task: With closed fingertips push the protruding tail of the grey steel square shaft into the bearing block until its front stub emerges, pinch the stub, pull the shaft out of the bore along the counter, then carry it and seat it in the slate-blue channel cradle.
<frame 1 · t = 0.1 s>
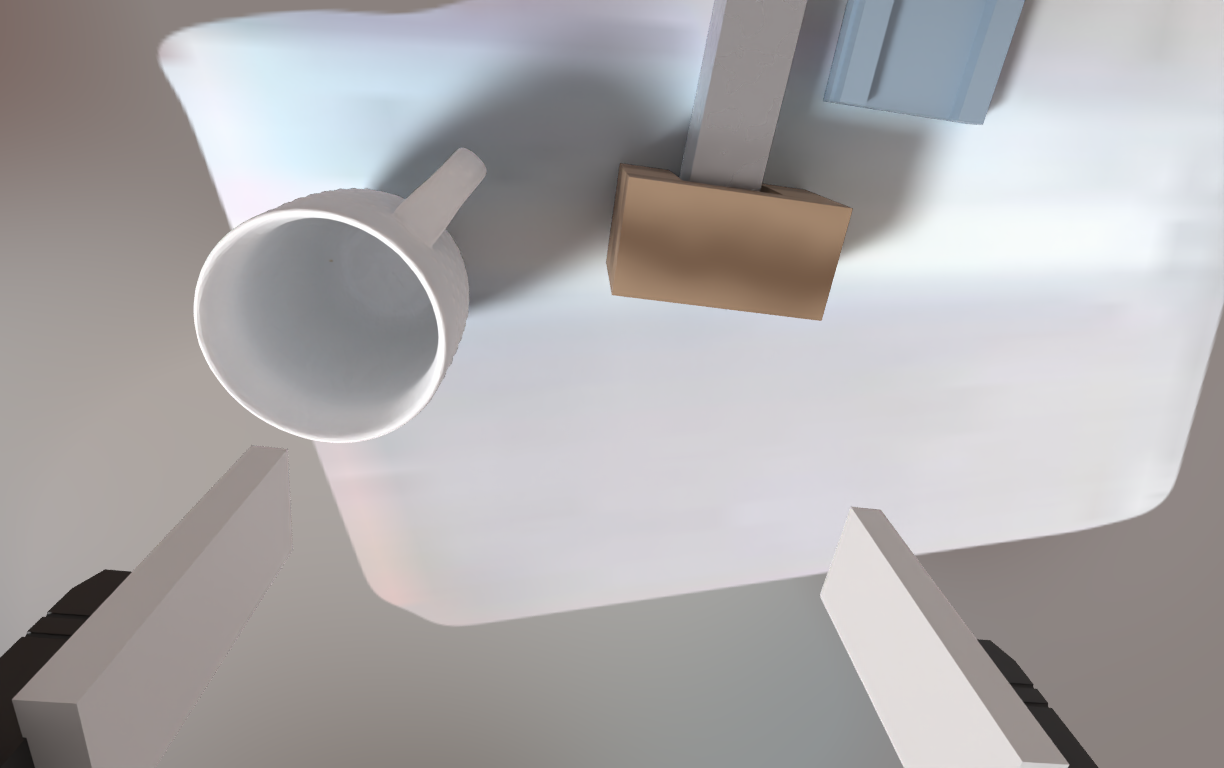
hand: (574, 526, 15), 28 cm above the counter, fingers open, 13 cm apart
bearing block: (704, 226, 40), on the counter
shaft: (721, 132, 39), on the counter
mug: (408, 252, 40), on the counter
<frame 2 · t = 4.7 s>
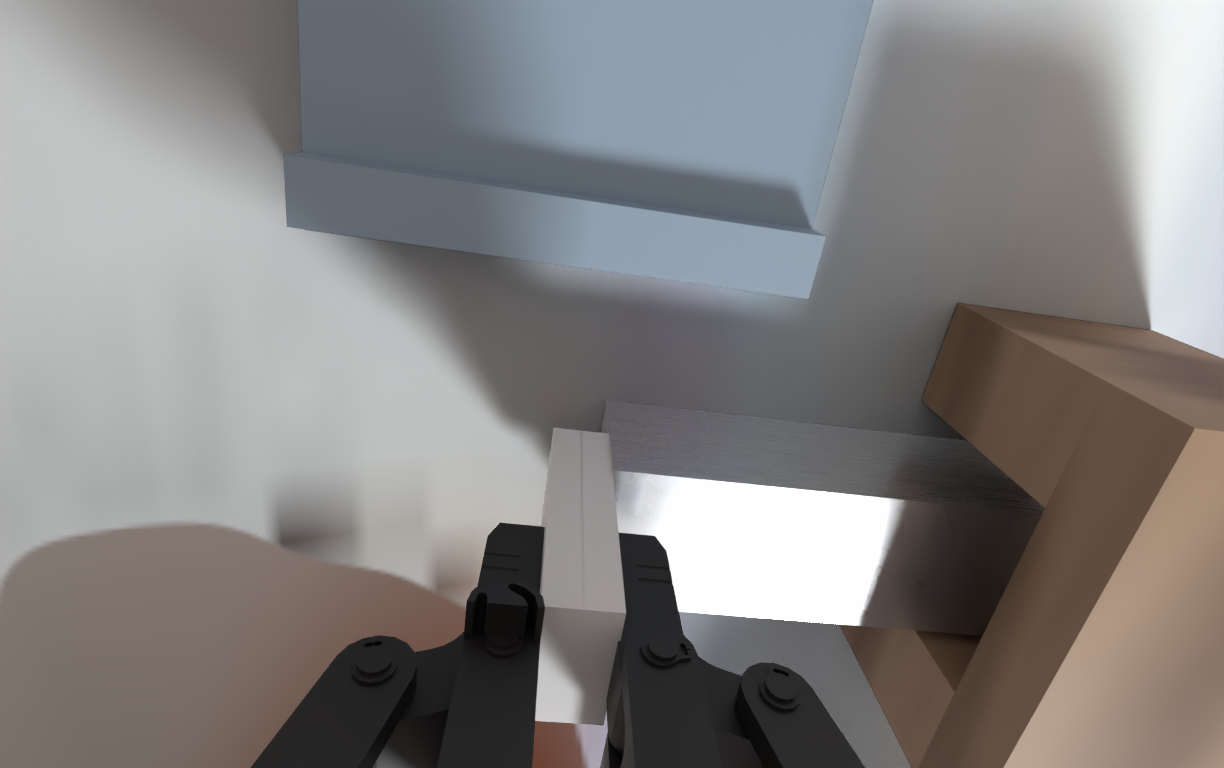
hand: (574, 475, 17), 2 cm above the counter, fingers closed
cradle: (582, 65, 15), on the counter
bearing block: (980, 490, 20), on the counter
shaft: (834, 482, 20), on the counter
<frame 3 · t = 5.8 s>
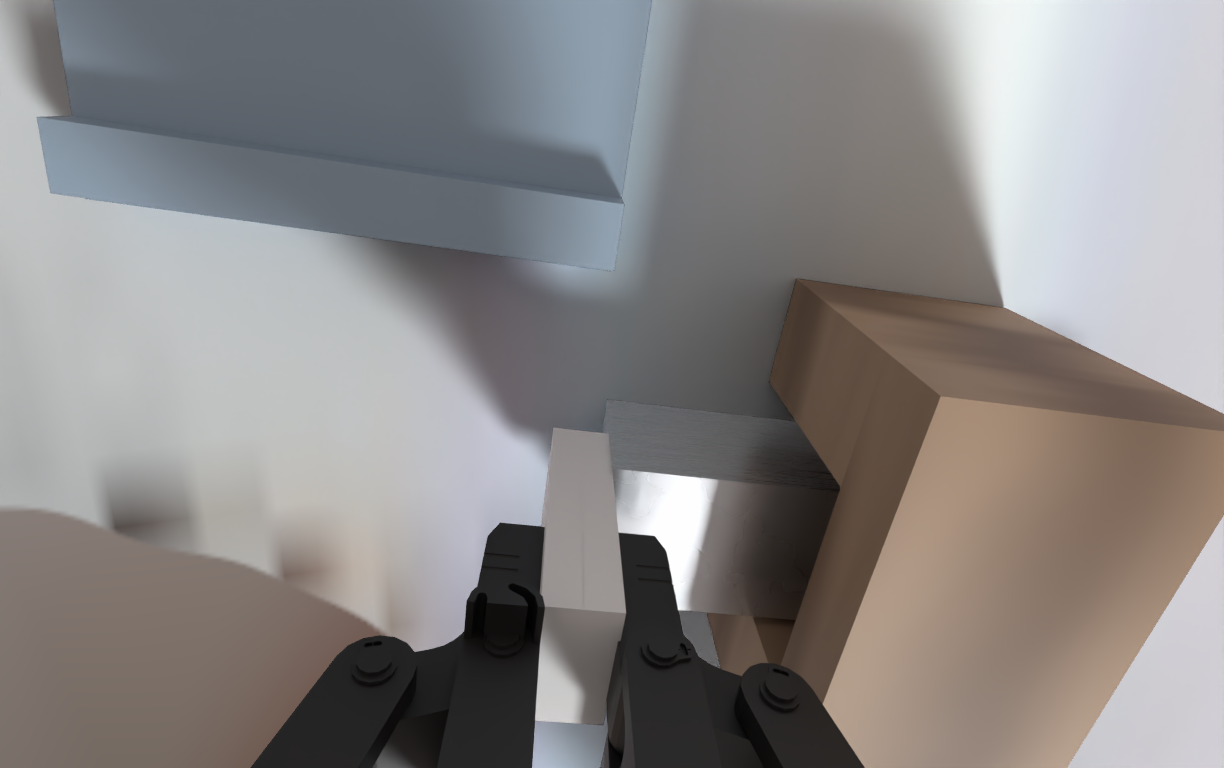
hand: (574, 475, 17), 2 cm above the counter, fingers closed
cradle: (372, 26, 14), on the counter
bearing block: (841, 475, 20), on the counter
shaft: (835, 481, 20), on the counter, touching gripper
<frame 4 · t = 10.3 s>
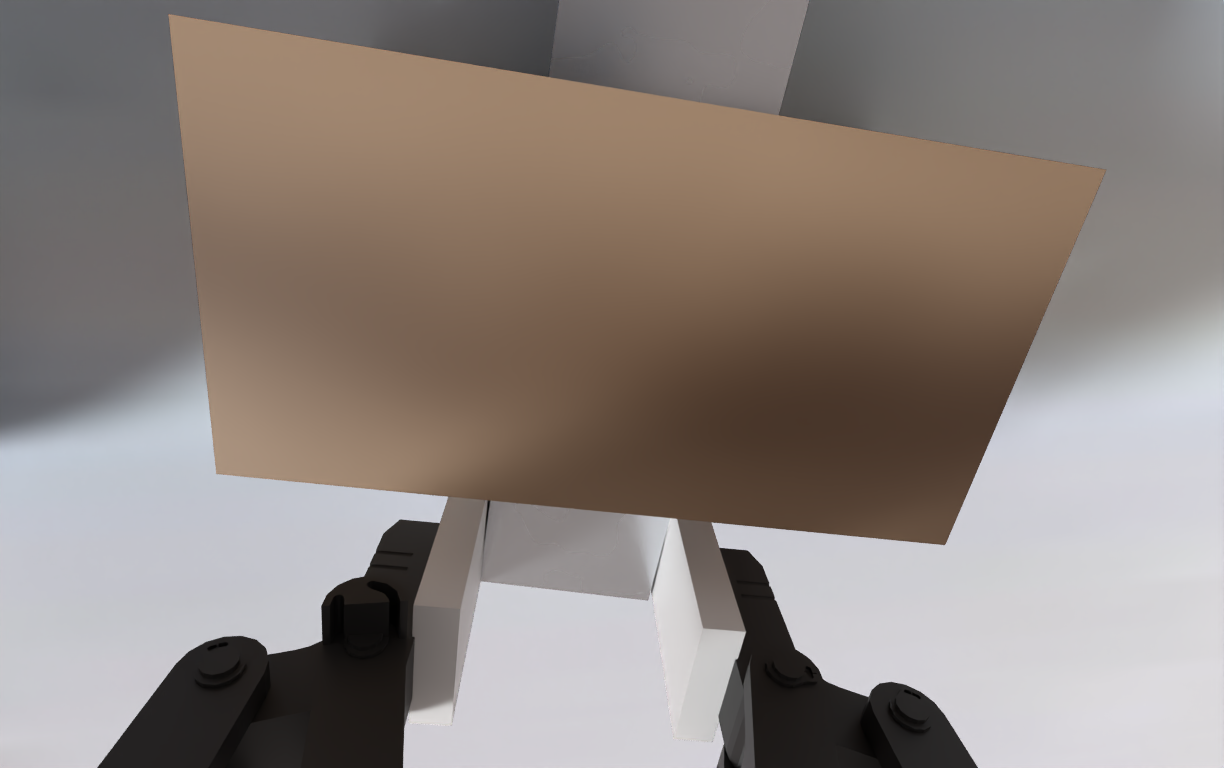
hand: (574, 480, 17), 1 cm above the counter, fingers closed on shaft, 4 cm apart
bearing block: (609, 230, 16), on the counter
shaft: (616, 240, 16), on the counter, touching gripper
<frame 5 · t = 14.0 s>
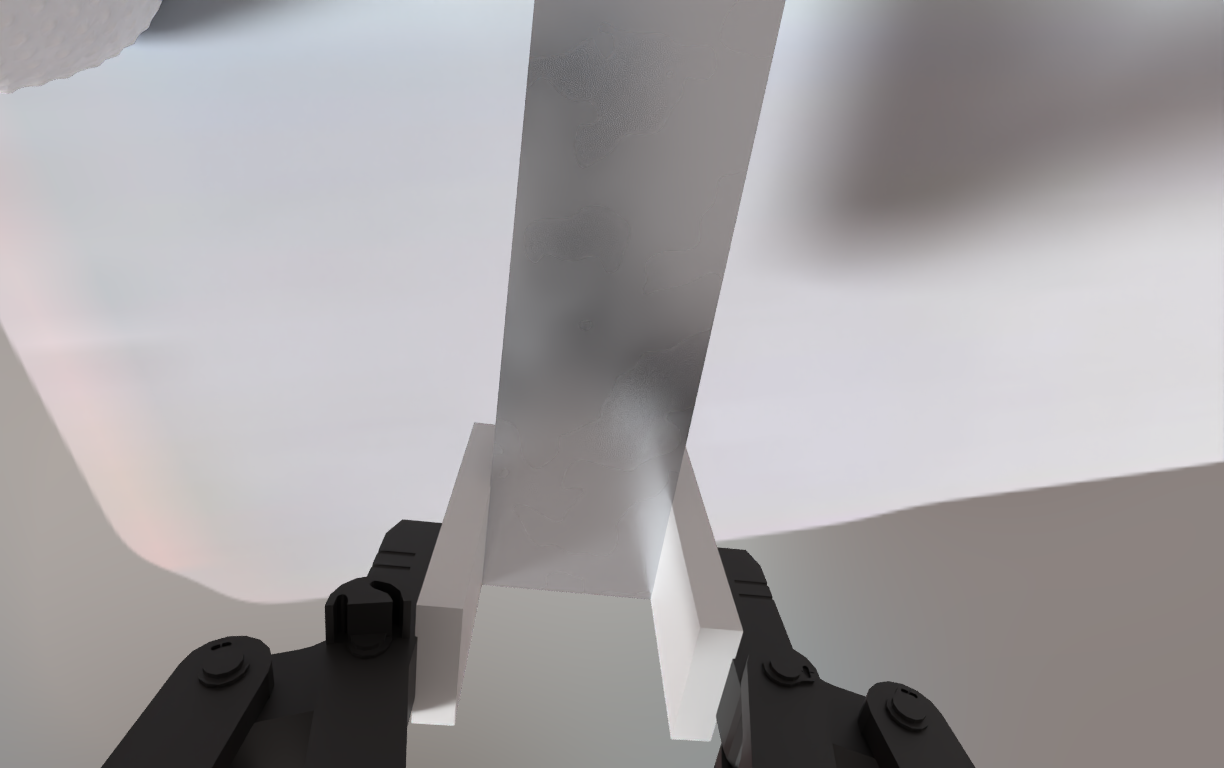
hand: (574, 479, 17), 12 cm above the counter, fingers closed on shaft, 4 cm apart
shaft: (607, 239, 16), point 11 cm above the counter, touching gripper
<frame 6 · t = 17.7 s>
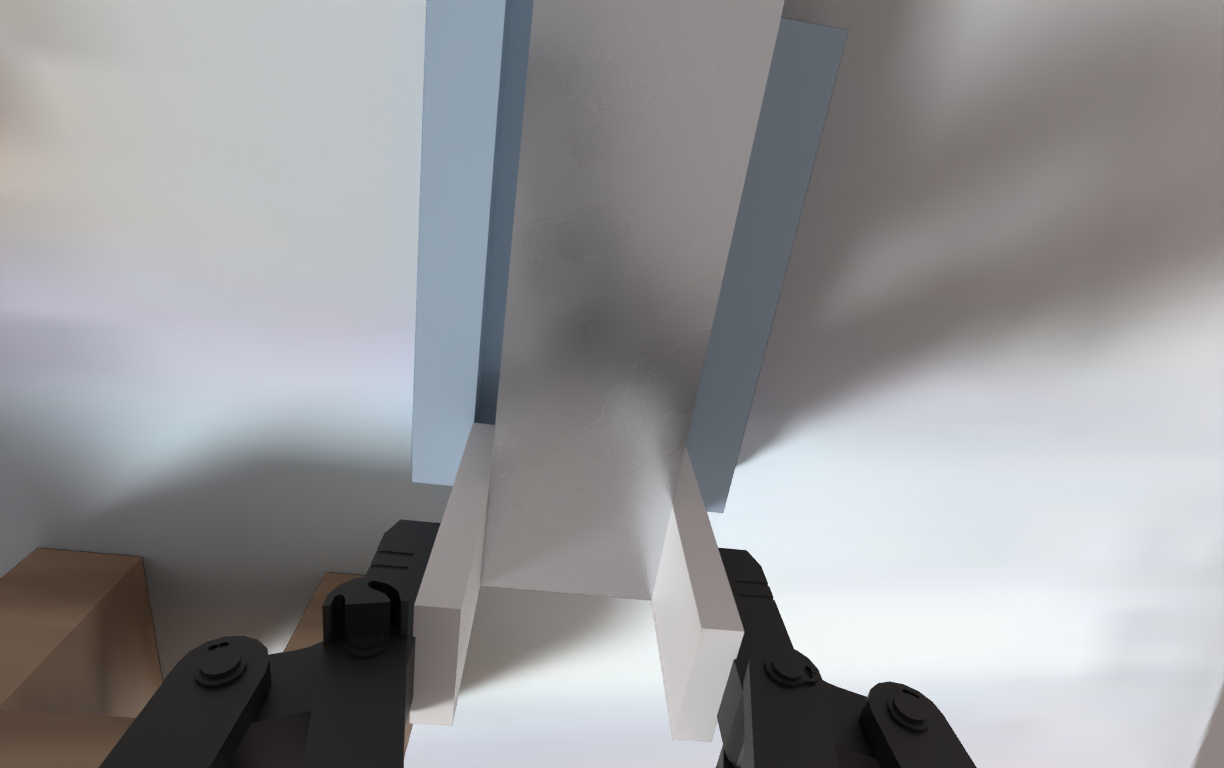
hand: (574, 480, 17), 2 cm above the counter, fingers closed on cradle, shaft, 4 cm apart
cradle: (600, 264, 17), on the counter
bearing block: (242, 637, 22), on the counter
shaft: (607, 239, 16), point 1 cm above the counter, touching cradle, gripper
when the fingers open (2 cm above the counter, at t = 18.7 s): shaft stays where it is, resting on cradle.
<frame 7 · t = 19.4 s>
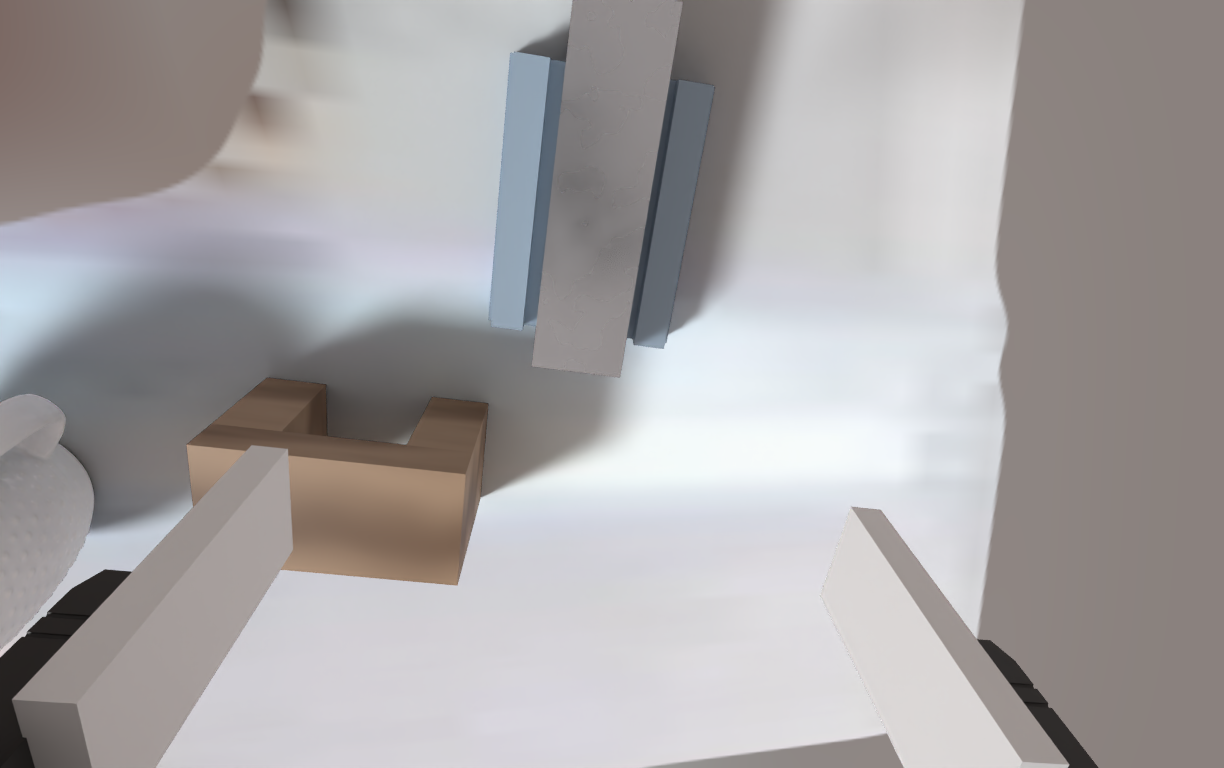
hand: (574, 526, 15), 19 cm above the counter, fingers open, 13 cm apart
cradle: (594, 207, 31), on the counter
bearing block: (378, 440, 36), on the counter
shaft: (597, 191, 30), point 1 cm above the counter, touching cradle
mug: (42, 466, 36), on the counter
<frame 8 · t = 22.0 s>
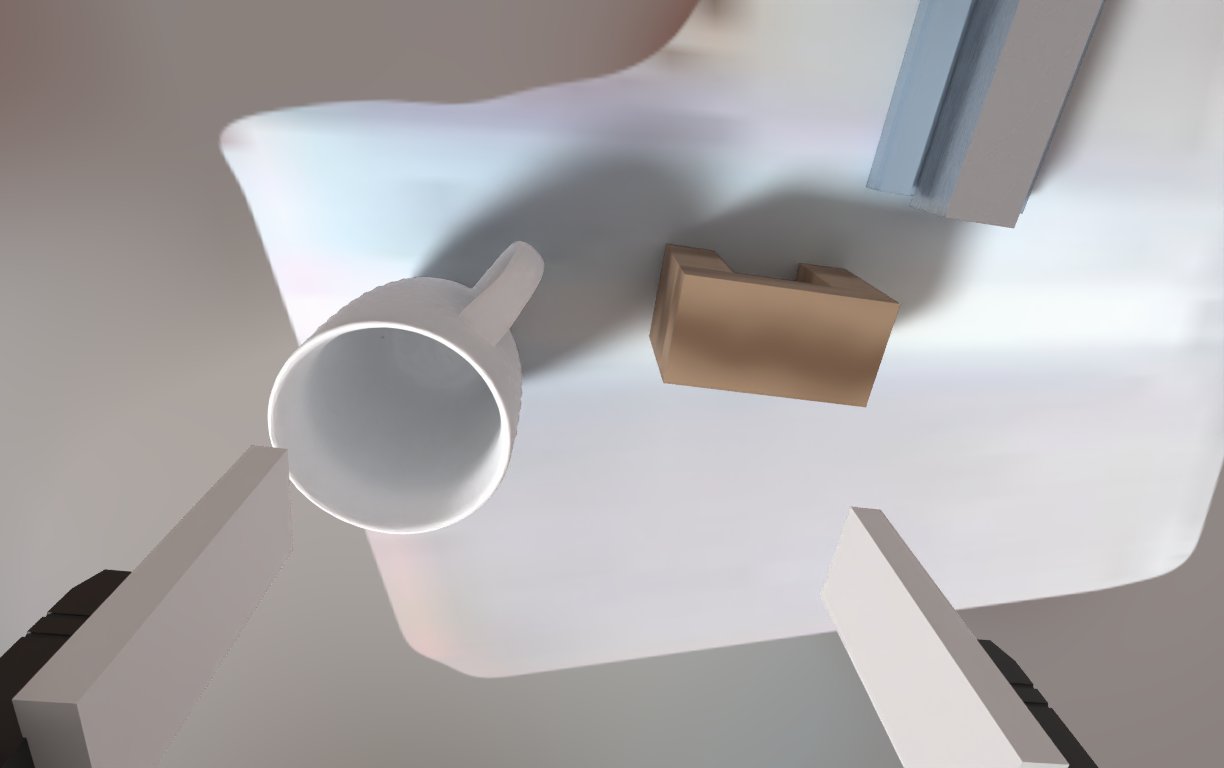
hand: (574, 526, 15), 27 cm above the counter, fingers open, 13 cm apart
cradle: (973, 90, 37), on the counter
bearing block: (746, 303, 41), on the counter
shaft: (988, 72, 36), point 1 cm above the counter, touching cradle
mug: (456, 325, 41), on the counter
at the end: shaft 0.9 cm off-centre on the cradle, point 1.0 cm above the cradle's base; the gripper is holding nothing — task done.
